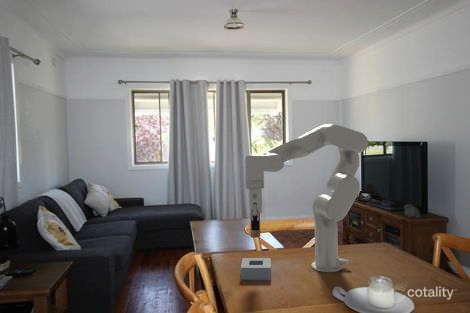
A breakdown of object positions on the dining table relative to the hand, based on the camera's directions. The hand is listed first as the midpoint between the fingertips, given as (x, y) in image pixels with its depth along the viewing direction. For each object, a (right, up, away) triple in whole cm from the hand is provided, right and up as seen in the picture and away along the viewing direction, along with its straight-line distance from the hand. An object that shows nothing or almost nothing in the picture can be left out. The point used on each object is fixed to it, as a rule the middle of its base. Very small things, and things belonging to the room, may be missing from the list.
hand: (255, 228), depth 158 cm
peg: (0, -3, 0) cm, 3 cm away
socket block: (0, -19, +1) cm, 19 cm away
